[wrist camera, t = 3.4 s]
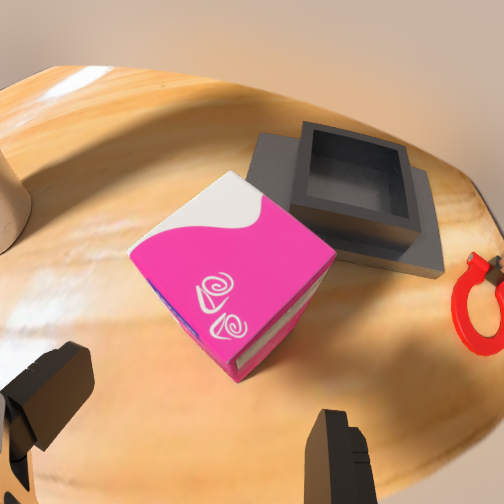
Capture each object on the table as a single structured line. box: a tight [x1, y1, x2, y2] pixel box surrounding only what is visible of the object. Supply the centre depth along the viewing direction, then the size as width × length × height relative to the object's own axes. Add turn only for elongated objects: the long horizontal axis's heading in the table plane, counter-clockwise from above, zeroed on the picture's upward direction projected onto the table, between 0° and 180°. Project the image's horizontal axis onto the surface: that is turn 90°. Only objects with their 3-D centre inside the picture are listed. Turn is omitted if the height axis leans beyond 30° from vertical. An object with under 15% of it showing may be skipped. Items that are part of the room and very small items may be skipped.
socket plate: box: [246, 121, 444, 279], centre depth 24 cm, size 18×12×4 cm, turn 78°
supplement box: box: [127, 170, 337, 383], centre depth 16 cm, size 6×6×12 cm
